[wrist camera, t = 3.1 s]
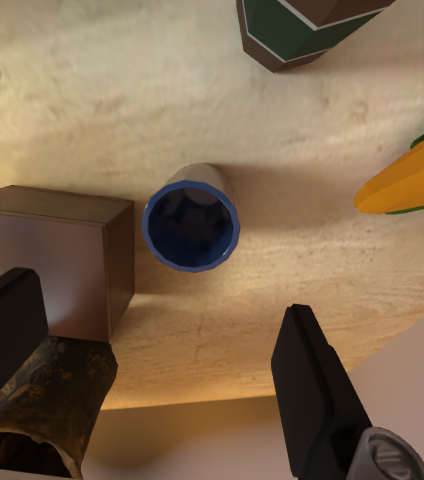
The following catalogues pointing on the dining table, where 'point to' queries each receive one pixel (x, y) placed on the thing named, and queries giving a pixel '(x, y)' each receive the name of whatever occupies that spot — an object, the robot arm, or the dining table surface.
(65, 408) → the pottery vessel
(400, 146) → the dining table surface
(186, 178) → the cup
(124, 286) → the box
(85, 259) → the box lid
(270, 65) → the beer bottle
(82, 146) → the dining table surface
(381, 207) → the corn
